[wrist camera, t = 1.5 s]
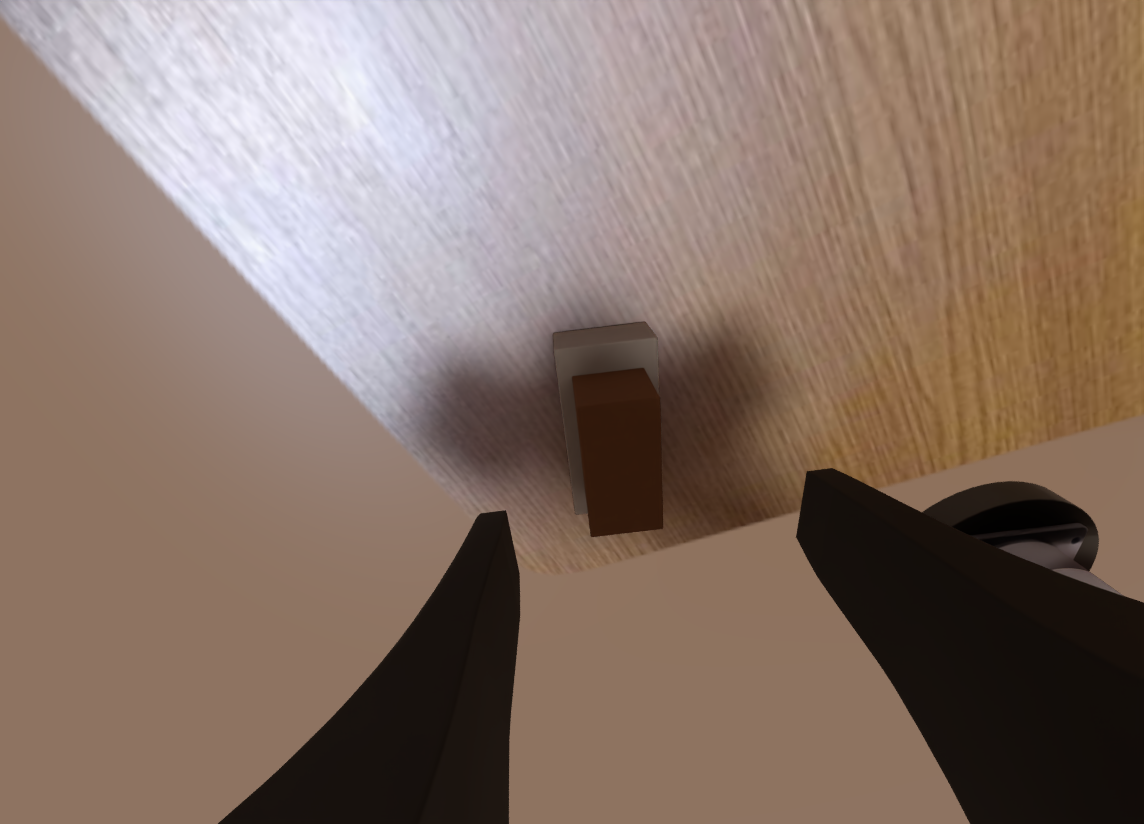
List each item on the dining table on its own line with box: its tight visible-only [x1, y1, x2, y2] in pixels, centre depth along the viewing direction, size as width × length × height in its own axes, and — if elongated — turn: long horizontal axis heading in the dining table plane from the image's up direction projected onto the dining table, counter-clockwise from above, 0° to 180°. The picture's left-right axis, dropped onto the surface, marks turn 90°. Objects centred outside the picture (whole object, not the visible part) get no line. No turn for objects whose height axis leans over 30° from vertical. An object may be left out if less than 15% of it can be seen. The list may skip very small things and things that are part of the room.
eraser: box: [553, 322, 663, 537], centre depth 17 cm, size 7×4×4 cm, turn 6°
